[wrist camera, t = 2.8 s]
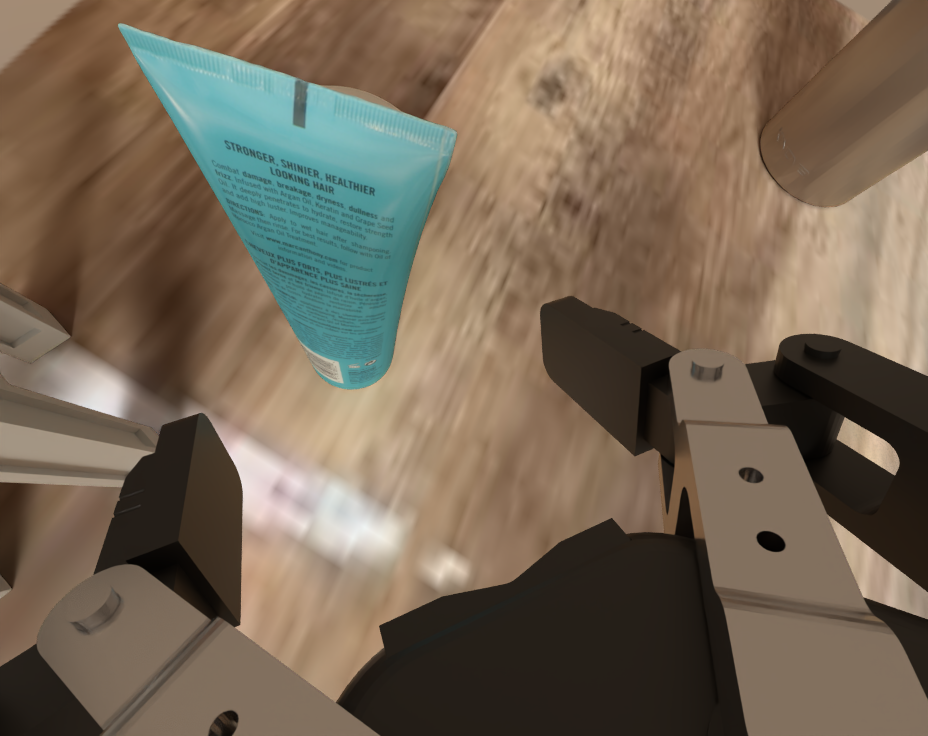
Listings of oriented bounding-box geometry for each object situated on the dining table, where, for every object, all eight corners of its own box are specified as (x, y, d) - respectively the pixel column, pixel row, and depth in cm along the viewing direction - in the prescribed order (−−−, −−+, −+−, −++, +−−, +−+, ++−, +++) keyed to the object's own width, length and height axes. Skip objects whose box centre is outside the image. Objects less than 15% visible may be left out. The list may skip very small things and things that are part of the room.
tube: (418, 325, 30) (473, 45, 11) (404, 400, 28) (442, 218, 10) (297, 302, 29) (146, -41, 10) (277, 378, 27) (62, 135, 9)
